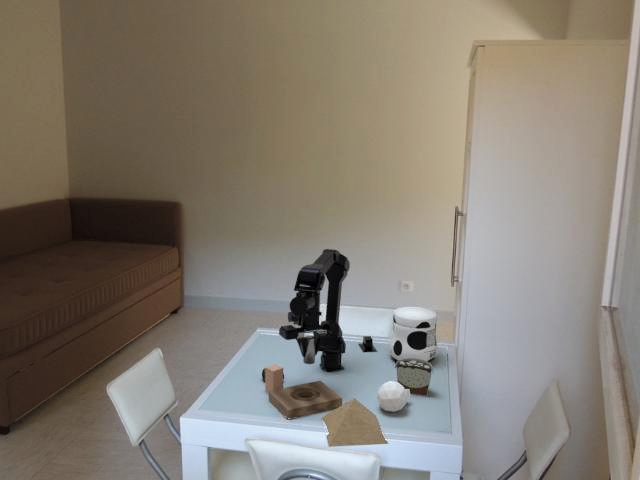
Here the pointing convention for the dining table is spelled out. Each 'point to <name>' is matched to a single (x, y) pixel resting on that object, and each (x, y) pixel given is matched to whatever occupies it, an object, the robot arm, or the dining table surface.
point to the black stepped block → (367, 344)
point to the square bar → (273, 378)
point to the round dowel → (310, 350)
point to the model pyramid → (353, 426)
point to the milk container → (414, 334)
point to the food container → (414, 375)
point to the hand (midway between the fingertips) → (309, 355)
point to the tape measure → (264, 374)
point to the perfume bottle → (392, 396)
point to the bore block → (305, 399)
